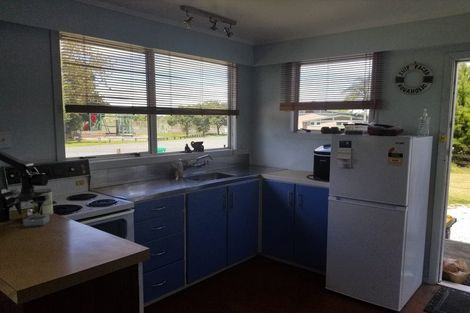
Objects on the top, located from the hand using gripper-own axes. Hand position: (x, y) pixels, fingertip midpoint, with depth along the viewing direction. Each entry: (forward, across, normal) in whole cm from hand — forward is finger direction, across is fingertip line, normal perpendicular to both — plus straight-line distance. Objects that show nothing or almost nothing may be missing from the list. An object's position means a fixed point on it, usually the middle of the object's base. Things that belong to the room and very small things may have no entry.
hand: (29, 214), depth 188 cm
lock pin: (+4, 0, 0) cm, 4 cm away
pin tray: (+4, +6, -8) cm, 11 cm away
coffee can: (+4, +2, +14) cm, 14 cm away
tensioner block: (+4, 0, +2) cm, 4 cm away
